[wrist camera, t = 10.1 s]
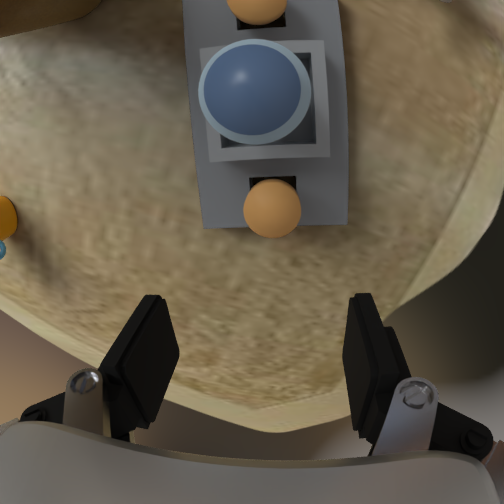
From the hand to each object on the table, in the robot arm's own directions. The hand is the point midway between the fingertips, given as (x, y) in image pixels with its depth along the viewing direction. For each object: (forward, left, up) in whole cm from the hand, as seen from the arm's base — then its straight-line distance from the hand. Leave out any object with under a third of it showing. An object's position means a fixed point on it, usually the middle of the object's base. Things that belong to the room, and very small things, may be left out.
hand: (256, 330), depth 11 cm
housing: (-8, 0, -20) cm, 21 cm away
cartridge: (-8, 0, -17) cm, 19 cm away
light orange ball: (-17, 0, -18) cm, 25 cm away
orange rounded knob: (0, 0, -18) cm, 18 cm away
